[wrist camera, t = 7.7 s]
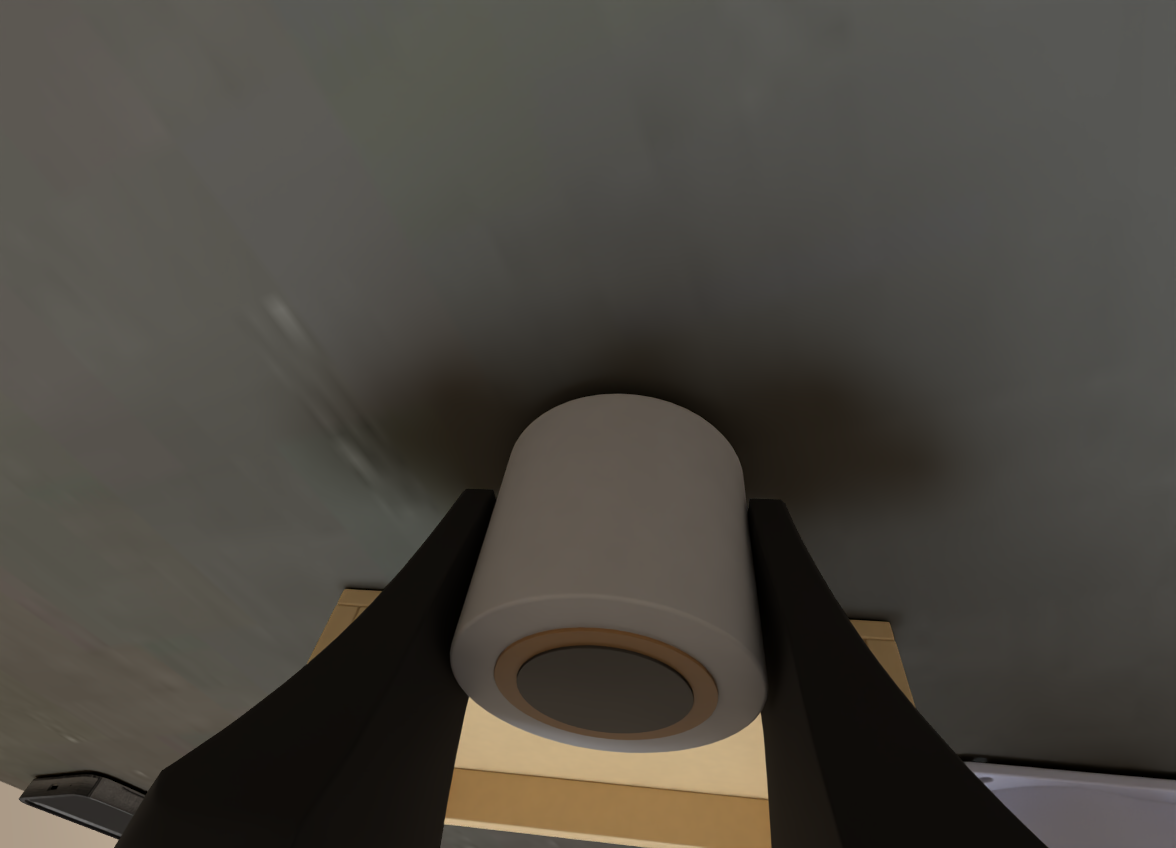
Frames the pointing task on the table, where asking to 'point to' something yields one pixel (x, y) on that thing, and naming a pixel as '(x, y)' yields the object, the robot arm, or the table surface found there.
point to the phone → (85, 801)
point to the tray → (612, 774)
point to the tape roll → (617, 583)
